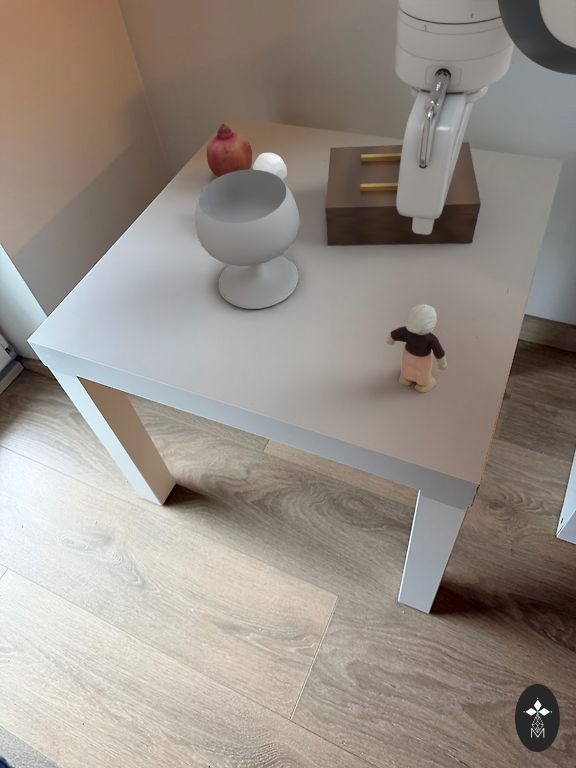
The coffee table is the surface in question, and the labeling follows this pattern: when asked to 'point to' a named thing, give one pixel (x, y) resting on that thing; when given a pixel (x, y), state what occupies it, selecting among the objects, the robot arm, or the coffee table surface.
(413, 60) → the robot arm
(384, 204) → the box with brass rails
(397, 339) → the grandmother figurine
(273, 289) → the chalice
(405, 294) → the coffee table surface
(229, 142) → the fruit
